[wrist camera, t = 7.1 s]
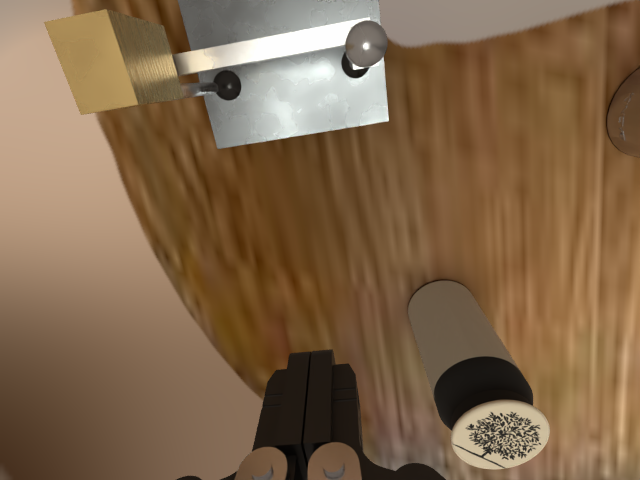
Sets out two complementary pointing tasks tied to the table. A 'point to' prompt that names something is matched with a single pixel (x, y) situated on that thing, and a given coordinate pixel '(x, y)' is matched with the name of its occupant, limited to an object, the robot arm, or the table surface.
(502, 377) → the travel mug
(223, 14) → the bolt plate
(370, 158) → the table surface
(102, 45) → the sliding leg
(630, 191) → the table surface
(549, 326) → the table surface
